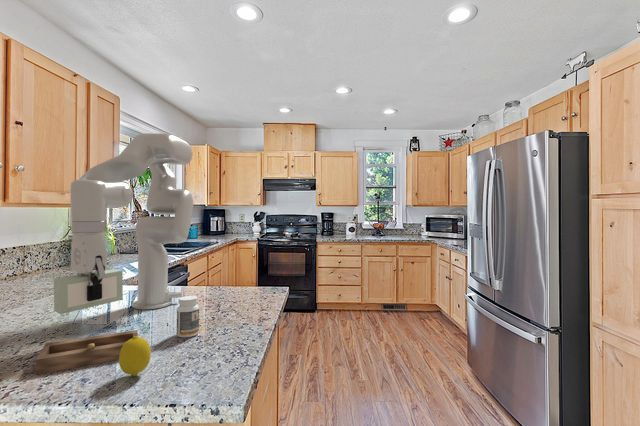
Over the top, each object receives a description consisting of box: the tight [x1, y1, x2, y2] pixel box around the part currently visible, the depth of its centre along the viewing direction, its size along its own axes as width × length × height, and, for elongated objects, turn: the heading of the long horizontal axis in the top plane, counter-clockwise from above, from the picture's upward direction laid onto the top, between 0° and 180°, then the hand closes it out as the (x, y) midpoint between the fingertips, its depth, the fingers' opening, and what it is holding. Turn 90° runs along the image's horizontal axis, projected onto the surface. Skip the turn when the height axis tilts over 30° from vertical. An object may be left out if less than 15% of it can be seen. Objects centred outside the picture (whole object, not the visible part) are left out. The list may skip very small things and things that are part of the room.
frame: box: [53, 268, 124, 315], centre depth 84 cm, size 14×4×8 cm, turn 146°
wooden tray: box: [35, 329, 139, 376], centre depth 74 cm, size 18×10×4 cm, turn 121°
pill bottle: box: [175, 295, 200, 338], centre depth 88 cm, size 6×6×10 cm
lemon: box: [118, 335, 152, 377], centre depth 65 cm, size 6×6×8 cm
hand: (90, 297), depth 84 cm, fingers closed on frame, 4 cm apart
